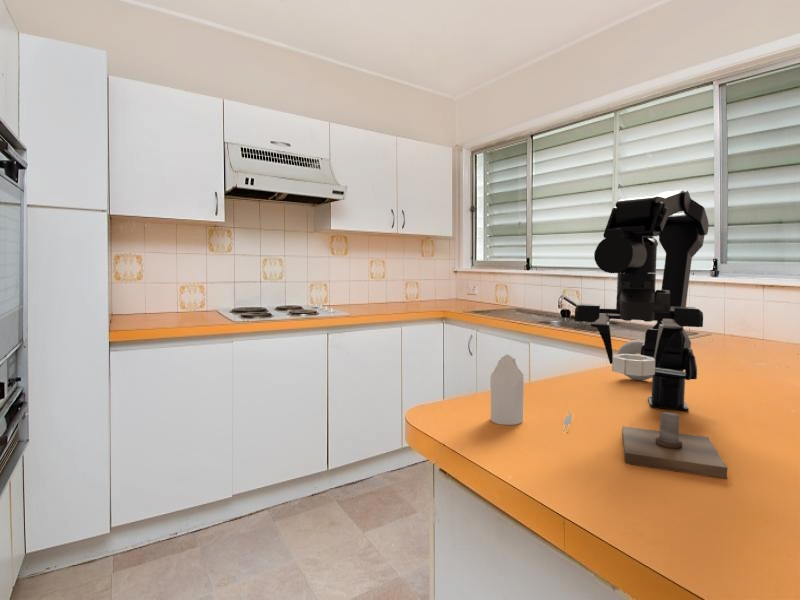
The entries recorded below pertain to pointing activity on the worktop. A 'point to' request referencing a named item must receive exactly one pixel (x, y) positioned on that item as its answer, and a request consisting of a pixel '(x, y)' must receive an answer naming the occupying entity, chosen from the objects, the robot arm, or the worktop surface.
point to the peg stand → (672, 449)
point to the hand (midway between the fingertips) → (633, 365)
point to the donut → (633, 348)
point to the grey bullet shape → (507, 392)
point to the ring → (633, 364)
